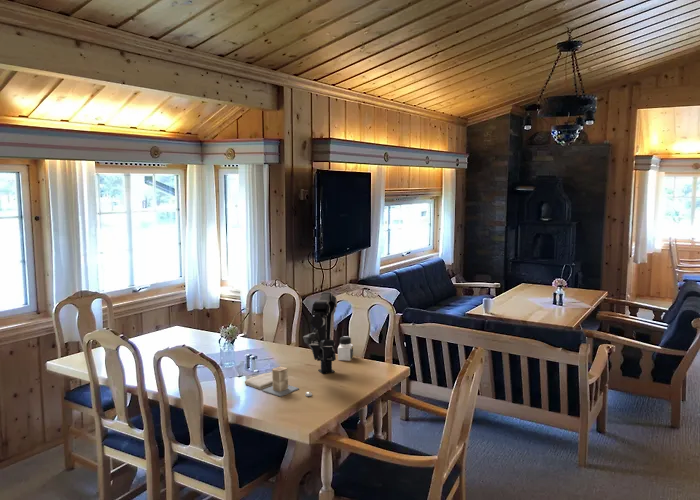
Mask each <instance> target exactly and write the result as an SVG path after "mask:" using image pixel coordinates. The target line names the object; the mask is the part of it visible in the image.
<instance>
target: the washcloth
mask: <svg viewBox="0 0 700 500" xmlns="http://www.w3.org/2000/svg"><path fill="white" fill-rule="evenodd" d="M244 384H245V385H246V386H249V387H252V388H255V389H258V390H264V389H266V388H269V387H271V386H273V378H272V371H269V372H268V373H261V374H259V375H255V376H253V377H250V378H247V379H246V380H245V381H244Z"/></svg>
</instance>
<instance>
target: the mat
mask: <svg viewBox="0 0 700 500" xmlns="http://www.w3.org/2000/svg"><path fill="white" fill-rule="evenodd" d="M298 390H300V388H299V387H296V386H293V385H289V384H288V389H286V390H284V391H281V392H280V391H276V390H273V386H269V387H267V388H264V389H261V391H262V392H263V393H267V394H269V395H274V396H277V397H283V396H286V395H289V394H290V393H294V392H296V391H298Z"/></svg>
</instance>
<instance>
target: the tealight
mask: <svg viewBox="0 0 700 500" xmlns="http://www.w3.org/2000/svg"><path fill="white" fill-rule="evenodd" d="M304 395H305V397H308V398H309V397H312V395H313V393H312V392H311V391H305V394H304Z"/></svg>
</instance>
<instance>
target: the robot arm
mask: <svg viewBox="0 0 700 500" xmlns="http://www.w3.org/2000/svg"><path fill="white" fill-rule="evenodd" d="M337 308H338V300H337V297H336V296H335V295H333V293H332V292H330V291H329V292H328V291H326V292H324V291H323V292H321V296H320V298H319V299H318V300H315V301H314V302H313V303H312V308H311V309H312V310H311V316H313V317H312V318H311V320H310V322H311V323H310V324H311V326H312V328H314V329H312V332H311V333H307V334H305V335H304V336H302V338H303V341H304V344H306V345H307V346H308V347H309V348H310V349H311V352H312V354H313V359H314V360H315V361H316V360H317V362H320V369H318V372H319V373H321V374H323V375H326V374H331V373H335V370H333V362H334V361H336V360H337V359H336V357H337V356H336V352H335V349H334V347H335V346H336V342H335V340H334V339H331V338H332V321H333V315H334V314H335V313H336V312H337V311H336V309H337Z"/></svg>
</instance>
